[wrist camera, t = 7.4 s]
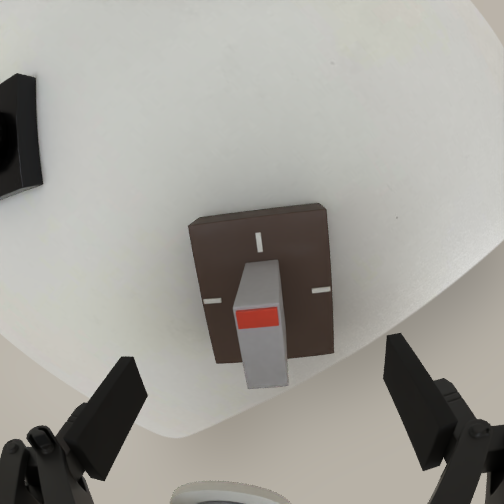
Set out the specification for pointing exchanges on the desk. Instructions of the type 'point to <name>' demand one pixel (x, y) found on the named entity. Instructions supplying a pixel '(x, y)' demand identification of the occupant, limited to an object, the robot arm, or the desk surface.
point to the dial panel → (290, 265)
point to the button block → (18, 136)
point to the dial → (262, 325)
